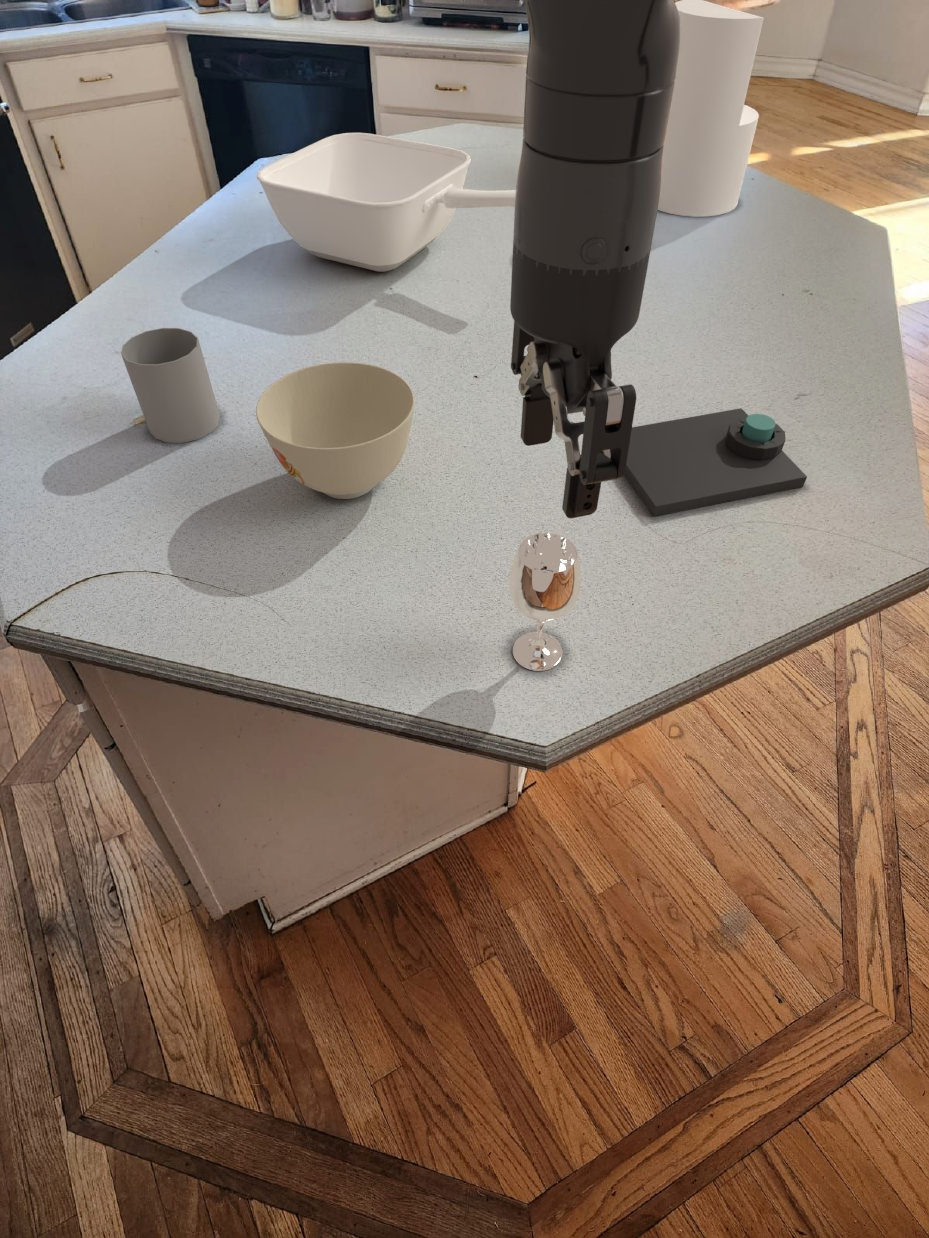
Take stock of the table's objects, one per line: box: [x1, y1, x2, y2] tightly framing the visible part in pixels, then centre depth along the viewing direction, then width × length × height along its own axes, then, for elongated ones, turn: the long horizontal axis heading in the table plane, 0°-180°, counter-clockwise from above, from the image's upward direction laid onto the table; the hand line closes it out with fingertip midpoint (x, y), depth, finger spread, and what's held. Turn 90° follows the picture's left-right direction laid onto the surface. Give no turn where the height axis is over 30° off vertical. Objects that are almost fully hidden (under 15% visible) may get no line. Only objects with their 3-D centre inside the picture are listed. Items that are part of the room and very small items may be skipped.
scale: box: [610, 407, 808, 517], centre depth 85 cm, size 19×14×3 cm
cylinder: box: [658, 0, 765, 218], centre depth 130 cm, size 17×17×28 cm
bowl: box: [255, 361, 416, 500], centre depth 80 cm, size 16×16×10 cm
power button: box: [742, 413, 776, 442], centre depth 85 cm, size 3×3×2 cm
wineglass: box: [508, 532, 582, 672], centre depth 63 cm, size 6×6×12 cm
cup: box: [120, 327, 221, 444], centre depth 88 cm, size 8×8×10 cm
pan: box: [256, 132, 516, 273], centre depth 118 cm, size 27×44×13 cm, turn 61°
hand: (556, 475), depth 53 cm, fingers open, 8 cm apart
